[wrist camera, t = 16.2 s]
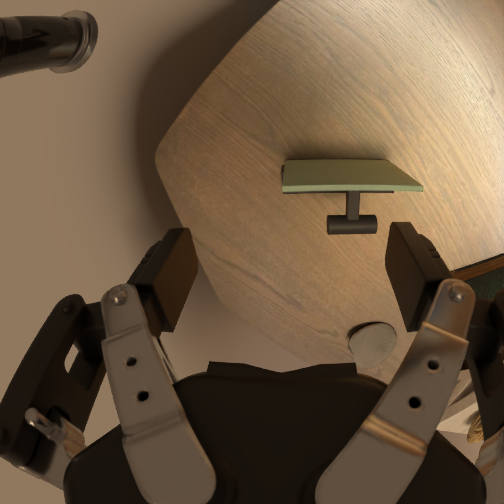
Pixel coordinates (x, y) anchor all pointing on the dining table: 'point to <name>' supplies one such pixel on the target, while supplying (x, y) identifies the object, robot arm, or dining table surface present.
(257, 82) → the dining table surface
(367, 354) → the seashell
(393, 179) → the sign
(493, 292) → the book
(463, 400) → the wooden side table
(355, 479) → the robot arm
